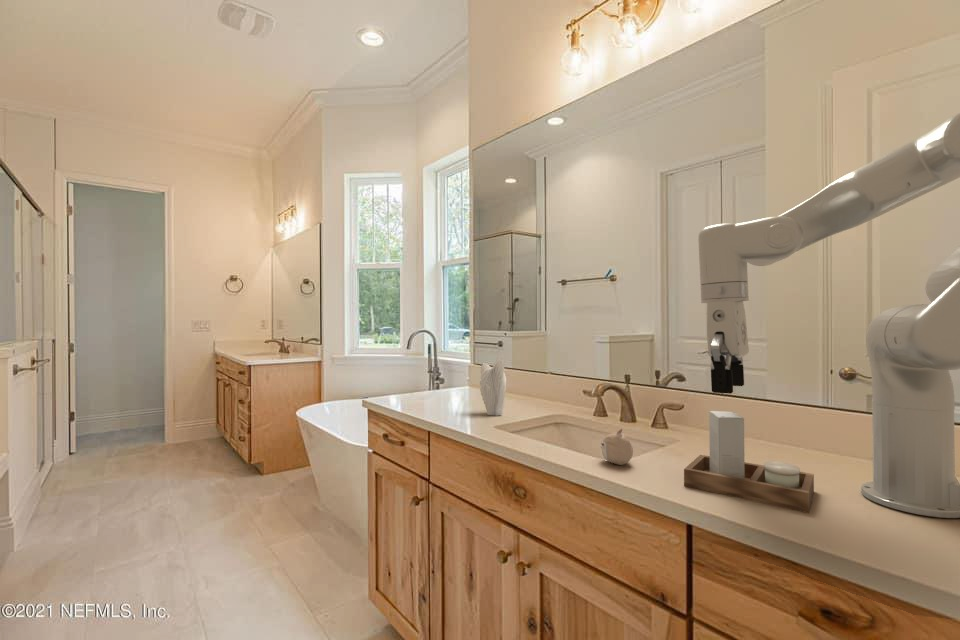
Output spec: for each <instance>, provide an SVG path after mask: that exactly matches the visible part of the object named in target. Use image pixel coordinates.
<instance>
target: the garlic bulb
mask: <svg viewBox="0 0 960 640" xmlns="http://www.w3.org/2000/svg"><path fill="white" fill-rule="evenodd" d="M600 444H601V446H600V448H601V453H602V456H603V458H604V460H606V461H607V462H609V463H610V462H611V464H613V463H614V465H619V466H623V465H626V464H627V463H629V462H630V460H632V458H633V455H634V447H633V446H632V443H631V441H630V440H629V438H628V436H626V435H625V434H624V433H623V428H620V429H619V430H618V431H617V432H613V433H609V434H607V435H606V436H605V437H603V439H602V441H601V443H600Z"/></svg>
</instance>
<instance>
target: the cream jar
mask: <svg viewBox="0 0 960 640" xmlns="http://www.w3.org/2000/svg"><path fill="white" fill-rule="evenodd" d="M763 465H764V469H765V483H769V484H774V485H779V486H784V487H790V488H795V489H799V474H800V472H801V468H800V467H798V466H797V465H795V464H791V463H787V462H782V461H766V462H764V463H763Z"/></svg>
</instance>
